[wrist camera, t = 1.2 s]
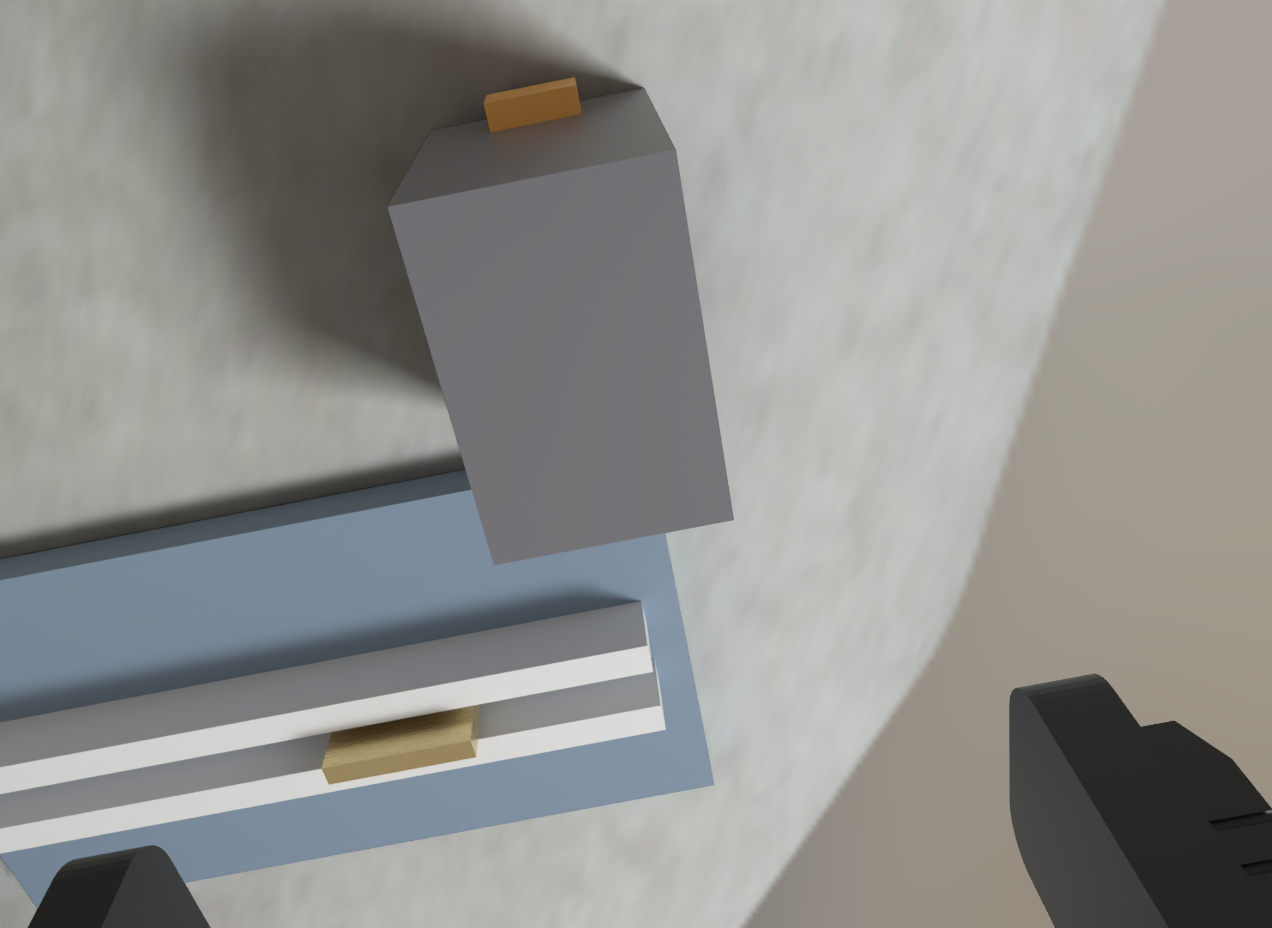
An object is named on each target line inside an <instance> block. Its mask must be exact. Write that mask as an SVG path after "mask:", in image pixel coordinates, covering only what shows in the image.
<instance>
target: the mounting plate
mask: <svg viewBox="0 0 1272 928" xmlns="http://www.w3.org/2000/svg"><path fill="white" fill-rule="evenodd" d="M479 704H480V705H481V711H480V722H479V733H478V744H477V755H476V757H475V758H470V759H464V760H459V761H454V762H448V763H443V764H438V765H432V766H427V767H421V768H416V769H411V770H405V771H400V772H395V773H389V774H384V775H379V776H373V777H368V778H362V779H357V780H352V781H346V782H341V783H336V784H330V785H329V784H328V782H327V780H326V778H325V775H324V773H323V771H322V769H321V768H322V765H323V761H324V757H325V753H326V750H327V746H328V742H329V739H330V735H331V732H335V731H340V730H346V729H351V728H356V727H362V726H367V725H372V724H378V723H383V722H388V721H394V720H399V719H404V718H410V717H415V716H420V715H426V714H431V713H436V712H442V711H447V710H452V709H458V708H463V707H468V706H474V705H479ZM712 785H714V782H713V776H712V771H711V765H710V760H709V755H708V749H707V744H706V739H705V734H704V729H703V724H702V719H701V714H700V709H699V704H698V699H697V693H696V688H695V683H694V678H693V673H692V668H691V663H690V658H689V653H688V648H687V643H686V638H685V632H684V627H683V622H682V617H681V612H680V607H679V602H678V597H677V592H676V587H675V582H674V576H673V571H672V566H671V561H670V556H669V551H668V546H667V541H666V536H665V533H662V534H657V535H652V536H646V537H641V538H636V539H631V540H625V541H620V542H615V543H609V544H604V545H599V546H594V547H588V548H583V549H578V550H573V551H567V552H562V553H557V554H552V555H546V556H541V557H536V558H530V559H525V560H520V561H515V562H509V563H504V564H499V565H494V564H493V560H492V557H491V554H490V550H489V547H488V544H487V540H486V537H485V534H484V530H483V527H482V524H481V520H480V517H479V513H478V510H477V507H476V503H475V500H474V497H473V493H472V490H471V487H470V483H469V480H468V476H467V473H466V470H461V471H456V472H450V473H445V474H440V475H435V476H430V477H424V478H419V479H414V480H409V481H404V482H399V483H393V484H388V485H383V486H378V487H373V488H367V489H362V490H357V491H352V492H347V493H341V494H336V495H331V496H326V497H321V498H316V499H310V500H305V501H300V502H295V503H290V504H284V505H279V506H274V507H269V508H264V509H258V510H253V511H248V512H243V513H238V514H233V515H227V516H222V517H217V518H212V519H207V520H201V521H196V522H191V523H186V524H181V525H175V526H170V527H165V528H160V529H155V530H149V531H144V532H139V533H134V534H129V535H124V536H118V537H113V538H108V539H103V540H98V541H92V542H87V543H82V544H77V545H72V546H66V547H61V548H56V549H51V550H46V551H41V552H35V553H30V554H25V555H20V556H15V557H9V558H4V559H0V856H1V857H2V859H3V860H4V862H5V863H6V864H7V866H8V867H9V869H10V870H11V872H12V873H13V875H14V876H15V877H16V879H17V880H18V882H19V883H20V885H21V886H22V888H23V889H24V890H25V892H26V893H27V895H28V896H29V898H30V899H31V901H32V902H33V903H34V905H35V906H36V908H37V909H38V907H39V905H40V903H41V901H42V899H43V897H44V895H45V894H46V892H47V890H48V888H49V886H50V884H51V882H52V880H53V878H54V877H55V875H56V873H57V872H58V871H59V870H60V869H61V867H62V866H64V865H65V864H66V863H67V862H69V861H71V860H73V859H79V858H84V857H89V856H95V855H100V854H106V853H111V852H117V851H122V850H127V849H133V848H138V847H144V846H149V845H155V846H158V847H160V848H162V849H163V850H164V851H165V852H166V853H167V854H168V856H169V857H170V859H171V860H172V862H173V864H174V866H175V867H176V869H177V871H178V873H179V874H180V876H181V878H182V879H183V881H184V883H186V882H192V881H197V880H202V879H208V878H213V877H219V876H224V875H230V874H235V873H240V872H246V871H251V870H257V869H262V868H267V867H273V866H278V865H284V864H289V863H295V862H300V861H305V860H311V859H316V858H322V857H327V856H332V855H338V854H343V853H349V852H354V851H360V850H365V849H370V848H376V847H381V846H387V845H392V844H397V843H403V842H408V841H414V840H419V839H425V838H430V837H435V836H441V835H446V834H452V833H457V832H462V831H468V830H473V829H479V828H484V827H490V826H495V825H500V824H506V823H511V822H517V821H522V820H527V819H533V818H538V817H544V816H549V815H555V814H560V813H565V812H571V811H576V810H582V809H587V808H592V807H598V806H603V805H609V804H614V803H620V802H625V801H630V800H636V799H641V798H647V797H652V796H657V795H663V794H668V793H674V792H679V791H685V790H690V789H695V788H701V787H706V786H712Z"/></svg>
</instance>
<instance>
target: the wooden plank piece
mask: <svg viewBox="0 0 1272 928" xmlns="http://www.w3.org/2000/svg"><path fill="white" fill-rule="evenodd" d="M480 711H481V705H480V704H479V705H474V706H468V707H463V708H458V709H452V710H447V711H442V712H436V713H431V714H426V715H420V716H415V717H410V718H404V719H399V720H394V721H388V722H383V723H378V724H372V725H367V726H362V727H356V728H351V729H346V730H340V731H335V732H331V735H330V739H329V742H328V746H327V750H326V753H325V757H324V761H323V765H322V768H321V769H322V771H323V773H324V775H325V778H326V780H327V782H328V784H329V785H330V784H336V783H341V782H346V781H352V780H357V779H362V778H368V777H373V776H379V775H384V774H389V773H395V772H400V771H405V770H411V769H416V768H421V767H427V766H432V765H438V764H443V763H448V762H454V761H459V760H464V759H470V758H475V757H476V755H477V744H478V733H479V722H480Z"/></svg>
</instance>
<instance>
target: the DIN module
mask: <svg viewBox="0 0 1272 928" xmlns="http://www.w3.org/2000/svg"><path fill="white" fill-rule="evenodd" d="M483 104H484V108H485V112H486V116H487V119H485V120H480V121H476V122H471V123H466V124H461V125H456V126H451V127H446V128H441V129H436V130H431V131H430V133H429V135H428V136H427V138H426V140H425V142H424V143H423V145H422V147H421V149H420V150H419V152H418V154H417V156H416V157H415V159H414V161H413V163H412V164H411V166H410V168H409V170H408V171H407V173H406V175H405V177H404V179H403V180H402V182H401V184H400V186H399V187H398V189H397V191H396V193H395V194H394V196H393V198H392V200H391V201H390V203H389V205H388V207H387V208H388V211H389V214H390V218H391V221H392V224H393V228H394V231H395V235H396V238H397V241H398V245H399V248H400V251H401V255H402V258H403V261H404V265H405V268H406V271H407V275H408V278H409V282H410V285H411V288H412V292H413V295H414V298H415V302H416V305H417V308H418V312H419V315H420V319H421V322H422V325H423V329H424V332H425V335H426V339H427V342H428V345H429V349H430V352H431V355H432V359H433V362H434V366H435V369H436V372H437V376H438V379H439V382H440V386H441V389H442V392H443V396H444V399H445V403H446V406H447V409H448V413H449V416H450V419H451V423H452V426H453V429H454V433H455V436H456V439H457V443H458V446H459V450H460V453H461V456H462V460H463V463H464V466H465V470H466V473H467V476H468V480H469V483H470V487H471V490H472V493H473V497H474V500H475V503H476V507H477V510H478V513H479V517H480V520H481V524H482V527H483V530H484V534H485V537H486V540H487V544H488V547H489V550H490V554H491V557H492V560H493V564H494V565H499V564H504V563H509V562H515V561H520V560H525V559H530V558H536V557H541V556H546V555H552V554H557V553H562V552H567V551H573V550H578V549H583V548H588V547H594V546H599V545H604V544H609V543H615V542H620V541H625V540H631V539H636V538H641V537H646V536H652V535H657V534H662V533H667V532H673V531H678V530H683V529H688V528H694V527H699V526H704V525H710V524H715V523H720V522H725V521H731V520H734V518H733V511H732V505H731V499H730V492H729V486H728V480H727V473H726V467H725V460H724V454H723V448H722V441H721V435H720V429H719V422H718V416H717V409H716V403H715V397H714V390H713V384H712V378H711V371H710V365H709V358H708V352H707V346H706V339H705V333H704V327H703V320H702V314H701V308H700V301H699V295H698V288H697V282H696V276H695V269H694V263H693V257H692V250H691V244H690V237H689V231H688V225H687V218H686V212H685V206H684V199H683V193H682V186H681V180H680V174H679V167H678V161H677V155H676V149H675V147H674V145H673V143H672V141H671V139H670V137H669V135H668V133H667V132H666V130H665V128H664V126H663V124H662V122H661V120H660V118H659V116H658V114H657V112H656V110H655V108H654V106H653V104H652V102H651V100H650V98H649V96H648V94H647V92H646V90H645V88H640V89H635V90H630V91H625V92H620V93H615V94H610V95H605V96H600V97H595V98H590V99H585V100H579V95H578V89H577V84H576V79H575V77H573V78H568V79H563V80H558V81H553V82H548V83H543V84H538V85H533V86H528V87H523V88H518V89H513V90H508V91H503V92H498V93H493V94H488V95H486V98H485V101H484V103H483Z"/></svg>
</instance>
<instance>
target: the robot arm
mask: <svg viewBox="0 0 1272 928" xmlns="http://www.w3.org/2000/svg"><path fill="white" fill-rule="evenodd" d="M1009 711H1010V712H1009V713H1010V714H1009V723H1010V724H1009V726H1010V727H1009V730H1010V731H1009V733H1010V734H1009V735H1010V737H1009V741H1010V811H1011V818H1012V824H1013V828H1014V832H1015V837H1016V840H1017V844H1018V847H1019V850H1020V853H1021V856H1022V859H1023V862H1024V864H1025V866H1026V869H1027V871H1028V873H1029V875H1030V877H1031V880H1032V881H1033V884H1034V886H1035V888H1036V890H1037V892H1038V894H1039V896H1040V898H1041V900H1042V902H1043V904H1044V906H1045V908H1046V910H1047V912H1048V914H1049V916H1050V918H1051V920H1052V922H1053V924H1054V926H1055V928H1272V808H1271V807H1270V806H1269V805H1268V803H1267V802H1266V801H1265V800H1264V798H1263V797H1262V796H1261V795H1260V793H1259V792H1258V791H1257V790H1256V788H1255V787H1254V786H1253V785H1252V783H1251V782H1250V781H1249V780H1248V778H1247V777H1246V776H1245V775H1244V773H1243V772H1242V771H1241V770H1240V768H1239V767H1238V766H1237V765H1236V763H1235V762H1234V761H1233V760H1232V759H1231V758H1230V757H1228V756H1227V755H1225V754H1224V753H1222V752H1221V751H1219V750H1218V749H1216V748H1215V747H1213V746H1212V745H1210V744H1209V743H1207V742H1206V741H1204V740H1203V739H1201V738H1200V737H1198V736H1196V735H1195V734H1194V733H1192V732H1191V731H1189V730H1188V729H1186V728H1185V727H1183V726H1182V725H1180V724H1179V723H1177V722H1176V721H1170V722H1165V723H1160V724H1154V725H1149V726H1143V727H1140V725H1139V724H1138V723H1137V721H1136V720H1135V718H1134V717H1133V716H1132V714H1131V713H1130V711H1129V710H1128V709H1127V707H1126V706H1125V705H1124V703H1123V702H1122V700H1121V699H1120V698H1119V696H1118V695H1117V693H1116V692H1115V691H1114V689H1113V688H1112V687H1111V685H1110V684H1109V683H1108V682H1107V681H1106V680H1105V679H1104V678H1103V677H1101V676H1100V675H1098V674H1090V675H1085V676H1079V677H1075V678H1068V679H1063V680H1058V681H1052V682H1047V683H1041V684H1036V685H1031V686H1025V687H1020V688H1015V689H1014V690H1013V691H1012V693H1011V696H1010V706H1009ZM28 928H210V926H209V924H208V923H207V921H206V919H205V918H204V916H203V914H202V912H201V911H200V909H199V907H198V905H197V904H196V902H195V900H194V898H193V897H192V895H191V893H190V892H189V890H188V888H187V886H186V885H185V883H184V881H183V879H182V878H181V876H180V874H179V873H178V871H177V869H176V867H175V866H174V864H173V862H172V860H171V859H170V857H169V856H168V854H167V853H166V852H165V851H164V850H163V849H162V848H160V847H158V846H155V845H149V846H144V847H138V848H133V849H127V850H122V851H117V852H111V853H106V854H100V855H95V856H89V857H84V858H79V859H73V860H71V861H69V862H67V863H66V864H65V865H64V866H62V867H61V869H60V870H59V871H58V872H57V873H56V875H55V877H54V878H53V880H52V882H51V884H50V886H49V888H48V890H47V892H46V894H45V895H44V897H43V899H42V901H41V903H40V905H39V907H38V909H37V911H36V913H35V915H34V917H33V919H32V921H31V923H30V924H29V926H28Z"/></svg>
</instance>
